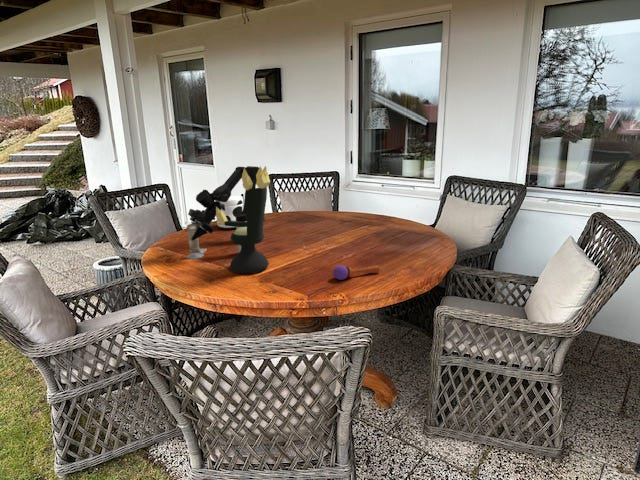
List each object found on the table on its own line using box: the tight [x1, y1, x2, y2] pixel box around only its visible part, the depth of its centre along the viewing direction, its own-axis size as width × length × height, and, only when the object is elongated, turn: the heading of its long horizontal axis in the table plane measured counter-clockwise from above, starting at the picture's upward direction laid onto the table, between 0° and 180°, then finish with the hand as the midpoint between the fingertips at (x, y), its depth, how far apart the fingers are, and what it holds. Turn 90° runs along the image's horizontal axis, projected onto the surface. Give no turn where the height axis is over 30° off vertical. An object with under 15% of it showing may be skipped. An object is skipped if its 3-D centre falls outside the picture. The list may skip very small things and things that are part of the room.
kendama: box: [332, 264, 381, 281], centre depth 172 cm, size 6×6×20 cm
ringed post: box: [186, 223, 200, 254], centre depth 200 cm, size 5×5×13 cm
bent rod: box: [199, 248, 208, 254], centre depth 210 cm, size 7×5×1 cm
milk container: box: [216, 194, 244, 230], centre depth 253 cm, size 17×17×18 cm
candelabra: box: [215, 165, 271, 275], centre depth 178 cm, size 19×22×45 cm
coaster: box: [186, 252, 205, 260], centre depth 203 cm, size 8×8×1 cm
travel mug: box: [235, 213, 247, 254], centre depth 202 cm, size 6×7×20 cm
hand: (190, 238), depth 199 cm, fingers closed on ringed post, 4 cm apart
